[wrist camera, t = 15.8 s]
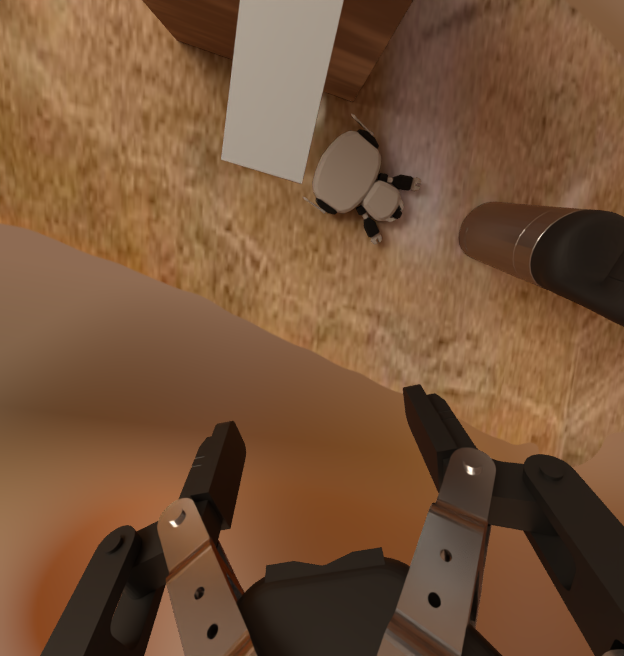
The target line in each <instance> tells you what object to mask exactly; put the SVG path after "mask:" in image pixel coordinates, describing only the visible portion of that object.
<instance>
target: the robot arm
mask: <svg viewBox="0 0 624 656" xmlns="http://www.w3.org/2000/svg"><path fill="white" fill-rule="evenodd" d="M459 243H460V246H461V249H462V250H463V252H464V253H465V254H466V255H467V256H469V257H471V258H474V259H476V260H478V261H481V262H483V263H485V264H487V265H490V266H492V267H494V268H497V269H499V270H501V271H504V272H506V273H509V274H511V275H513V276H516V277H518V278H520V279H523V280H525V281H528V282H530V283H532V284H535V285H537V286H540V287H542V288H544V289H547V290H549V291H552V292H554V293H556V294H558V295H560V296H562V297H565V298H567V299H569V300H571V301H574V302H576V303H578V304H580V305H582V306H584V307H586V308H588V309H590V310H592V311H594V312H596V313H598V314H599V315H601V316H603V317H605V318H607V319H609V320H611V321H613V322H615V323H617V324H619V325H621V326H623V327H624V217H623V216H621V215H618V214H616V213H613V212H609V211H602V210H587V209H574V208H561V207H549V206H537V205H525V204H514V203H502V202H489V203H485V204H483V205H480V206H478V207H477V208H475V209H474V210H473V211H472V212H471V213H470V214H469V215H468V216H467V217H466V219H465V220H464V222H463V224H462V226H461V229H460V232H459ZM403 395H404V403H405V413H406V418H407V421H408V424H409V427H410V429H411V432H412V434H413V436H414V438H415V440H416V443H417V445H418V447H419V450H420V452H421V454H422V456H423V459H424V461H425V463H426V466H427V468H428V470H429V472H430V475H431V477H432V479H433V481H434V484H435V486H436V488H437V491H438V493H439V495H438V498H437V501H436V503H432V505H431V506H430V509H429V512H428V514H427V518H426V521H425V524H424V527H423V529H422V533H421V536H420V538H419V541H418V545H417V547H416V550H415V553H414V557H413V559H412V563H411V565H410V566H408V565H407V564H405V563H403V562H400V561H398V560H395V559H391V558H387V557H384V556H383V551H382V548H381V547H380V548H374V549H368V550H361V551H355V552H351V553H349V554H347V555H345V556H343V557H341V558H339V559H337V560H335V561H333V562H331V563H329V564H327V565H323V566H321V565H315V564H309V563H302V562H296V561H292V562H285V563H279V564H273V565H267V566H266V575H265V577H263V578H262V579H261V580H259V581H257V582H256V583H255V584H253V585H252V586H251V587H250V588H249V589H248V590H247V591H246V592H244V590H243V589H242V587H241V585H240V583H239V581H238V579H237V577H236V575H235V573H234V571H233V569H232V567H231V565H230V563H229V561H228V558H227V556H226V554H225V552H224V550H223V548H222V546H221V544H220V542H219V540H218V538H219V534H220V530H225V529H230V528H231V523H232V518H233V514H234V509H235V505H236V500H237V495H238V491H239V486H240V481H241V477H242V472H243V467H244V462H245V457H246V447H245V443H244V441H243V439H242V437H241V435H240V433H239V430H238V428H237V426H236V424H235V422H234V421H229V422H224V423H219V424H217V425H216V426H215V429H214V431H213V434H212V436H211V437H207V438H206V439H205V441H204V442H203V443H202V444H201V446H200V447H199V449H198V452H197V454H196V457H195V458H196V459H195V460H194V462H193V464H192V468H191V470H190V472H189V475H188V477H187V479H186V482H185V485H184V487H183V489H182V492H181V495H180V497H179V499H178V500H177V501H175V502H173V503H172V504H171V505H169V506H168V507H167V508H166V509H165V510H164V512H163V513H162V515H161V516H160V518H159V521H157V522H155V523H153V524H151V525H149V526H147V527H145V528H143V529H141V530H139V531H137V532H136V531H135V529H134V528H133V527H132V526H129V525H126V526H122V527H119V528H117V529H115V530H114V531H112V532H111V533H110V534H109V535H107V536H106V537H105V538H104V540H103V541H102V542H101V543H100V544H99V546H98V547H97V549H96V551H95V553H94V555H93V556H92V558H91V560H90V562H89V564H88V566H87V568H86V570H85V572H84V574H83V575H82V578H81V579H80V581H79V583H78V585H77V587H76V589H75V591H74V593H73V595H72V596H71V599H70V600H69V602H68V604H67V606H66V608H65V610H64V612H63V613H62V616H61V618H60V619H59V621H58V623H57V625H56V627H55V629H54V631H53V632H52V634H51V636H50V638H49V640H48V642H47V644H46V646H45V648H44V650H43V651H42V654H41V655H40V656H144V654H145V651H146V648H147V644H148V641H149V638H150V635H151V631H152V628H153V624H154V621H155V618H156V615H157V611H158V608H159V604H160V602H161V598H162V595H163V592H164V588H165V585H167V588H168V593H169V596H170V600H171V604H172V608H173V612H174V616H175V620H176V624H177V627H178V631H179V635H180V639H181V643H182V647H183V651H184V655H185V656H502V655H501V654H500V653H499V652H498V651H497V650H496V649H495V648H494V647H493V646H492V645H491V644H490V643H489V642H488V641H487V640H486V639H485V638H484V637H483V636H482V635H481V634H480V633H479V632H478V631H477V630H476V629H475V628H476V622H477V616H478V610H479V604H480V597H481V590H482V582H483V574H484V568H485V562H486V556H487V549H488V543H489V537H490V532H491V525H495V526H501V527H506V528H513V529H518V530H523V531H524V533H525V535H526V536H527V538H528V540H529V542H530V543H531V545H532V547H533V549H534V550H535V552H536V554H537V556H538V557H539V559H540V561H541V563H542V564H543V566H544V568H545V570H546V571H547V573H548V575H549V577H550V578H551V580H552V582H553V584H554V585H555V587H556V589H557V591H558V592H559V594H560V596H561V598H562V599H563V601H564V603H565V604H566V606H567V608H568V610H569V611H570V613H571V615H572V616H573V618H574V620H575V622H576V624H577V625H578V627H579V629H580V631H581V632H582V634H583V636H584V637H585V639H586V641H587V643H588V644H589V646H590V648H591V650H592V652H593V653H594V655H595V656H624V526H623V525H622V524H621V523H620V522H619V520H618V519H617V518H616V517H615V516H614V515H613V514H612V512H611V511H610V510H609V509H608V508H607V507H606V506H605V504H604V503H603V502H602V501H601V500H600V499H599V498H598V496H597V495H596V494H595V493H594V492H593V491H592V490H591V488H590V487H589V486H588V485H587V484H586V483H585V481H584V480H583V479H582V478H581V477H580V476H579V475H578V473H577V472H576V471H575V470H574V469H573V468H572V467H571V466H570V465H568V464H567V463H566V462H564V461H562V460H560V459H558V458H556V457H553V456H549V455H543V454H537V455H532V456H530V457H528V458H527V459H526V461H525V462H524V464H517V463H508V462H501V461H497V460H494V459H491V458H490V457H489V456H488V455H487V454H486V453H484V452H482V451H480V450H478V449H477V448H476V446H475V445H474V443H473V442H472V441H471V439H470V437H469V436H468V434H467V433H466V431H465V430H464V428H463V427H462V425H461V424H460V422H459V421H458V419H456V416H455V415H454V413H453V412H452V411H451V409H450V407H449V406H448V404H447V403H446V401H445V400H444V399H442V398H441V397H440V396H438V395H437V394H435V393H434V394H429V395H426V393H425V392H424V390H423V388H422V386H421V385H420V384H418V385H413V386H408V387H403ZM122 592H123V593H122ZM120 597H121V598H120ZM118 602H119V603H118ZM116 607H117V608H116ZM115 609H116V610H115ZM114 612H115V613H114ZM113 614H114V615H113ZM112 617H113V618H112Z"/></svg>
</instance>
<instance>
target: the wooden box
mask: <svg viewBox="0 0 624 656" xmlns="http://www.w3.org/2000/svg"><path fill="white" fill-rule="evenodd" d="M143 2H144V3H145V4H146V5H147V6H148V7H149V9H150V10H151V11H152V12H153V13H154V14H155V15H156V17H157V18H158V19H159V20H160V21H161V22H162V24H163V25H164V26H165V27H166V28H167V29H168V31H169V32H170V33H171V34H172V35H173V36H174V38H175V39H176V40H178V41H181V42H184V43H187V44H189V45H192V46H195V47H198V48H201V49H204V50H206V51H209V52H212V53H215V54H218V55H221V56H224V57H226V58H229V59H232V60H233V55H234V47H235V38H236V30H237V21H238V13H239V4H240V0H143ZM412 2H413V0H344V2H343V6H342V11H341V15H340V19H339V24H338V28H337V33H336V37H335V41H334V46H333V50H332V54H331V59H330V63H329V68H328V72H327V76H326V81H325V85H324V89H323V92H326V93H329V94H332V95H335V96H337V97H340V98H343V99H346V100H349V101H352V102H353V101H354V99H355V97H356V96H357V94H358V92H359V91H360V89H361V87H362V86H363V84H364V82H365V81H366V79H367V77H368V76H369V74H370V72H371V71H372V69H373V67H374V66H375V64H376V62H377V61H378V59H379V57H380V55H381V54H382V52H383V50H384V49H385V47H386V45H387V44H388V42H389V40H390V39H391V37H392V35H393V34H394V32H395V30H396V29H397V27H398V25H399V24H400V22H401V20H402V18H403V17H404V15H405V13H406V12H407V10H408V8H409V7H410V5H411V3H412Z"/></svg>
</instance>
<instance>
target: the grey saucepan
mask: <svg viewBox="0 0 624 656" xmlns="http://www.w3.org/2000/svg"><path fill="white" fill-rule="evenodd" d="M343 2H344V0H240V4H239V13H238V21H237V30H236V38H235V47H234V55H233V64H232V72H231V81H230V89H229V98H228V106H227V115H226V123H225V132H224V140H223V149H222V157H221V159H222V160H225V161H228V162H231V163H234V164H237V165H240V166H243V167H247V168H250V169H253V170H257V171H260V172H263V173H267V174H270V175H273V176H277V177H280V178H283V179H287V180H290V181H293V182H297V183H300V184H302V181H303V177H304V173H305V168H306V164H307V159H308V155H309V151H310V146H311V142H312V138H313V133H314V129H315V124H316V120H317V116H318V111H319V107H320V103H321V98H322V94H323V89H324V85H325V81H326V76H327V72H328V68H329V63H330V59H331V54H332V50H333V46H334V41H335V37H336V33H337V28H338V24H339V19H340V15H341V11H342V6H343Z"/></svg>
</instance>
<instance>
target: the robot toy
mask: <svg viewBox="0 0 624 656" xmlns="http://www.w3.org/2000/svg"><path fill="white" fill-rule="evenodd" d="M351 115H352V117H353V118H354V119H355V120H356V121H357V122H358V123H359V124H360V125H361V126H362V127H363V128H364V129H365V130H366V131H365V130H358V131H357V132H356V131H348V132H346V133H343V134H342V135H340V136H339V137H337V138H336V139H335V140H334V141H333V142H332V143H331V144H330V146H329V147H328V148H327V150H326V151H325V152H324V153H323V155H322V156H321V158H320V161H319V163H318V166H317V168H316V171H315V174H314V178H313V192H314V194H315V196H316V202H317V204H318V205H319V207H320V208H319V207H318V206H316V205H315V204H313V203H312V202H310V201H309V200H308V199H307V198H305V197H303V198H304V199H305V200H306V201H308V202H309V203H311V204H312V205H314V206H315V207H317V208H318V209H320V211H321V212H323V213H324V214H325V212H327V213H330V214H336V213H337V212H339V213H346V212H349V211H351V210H352V209H354V208H355V207H356V206H357V205H358V204H359V203H360V206H359V207H357V208H356V210H357V212H358V214H359V215H362V216H363V218H364V229H365V231H366V233H367V235H368V237H371V242H372V243H373V244H378V243H377V242H376V239H378V241H379V242H381V240H382V237H381V234H379V229H378V227H377V225H376V223H375V221H374V220H372V219H371V218H369V217H368V215H367V214H369V215H370V216H371V217H372V218H373V219H375V220H378V221H389V222H392V221H394V220H396V219H398V218H400V217H401V215H402V212H401V211H400V210H402V211H403V206H404V204H403V202H402V200H401V198H400V193H399V191H398V189H402V190H410V189H411V190H412V191H417V190H418V189H419V188H420V186H416V183H418V184H421V180H420V179H419V178H417V177H416V178H414V179H413V177H411V176H406V175H398V176H395V177H393V178H391V177H388V175H387V174H383V173H380V174H379V175H378V172H379V169H380V165H381V155H380V153H379V151H378V146H379V145H378V143H377V141H376V139H375V138H374V137H373V135H374V133H373V132H372V131H369V130H368V129H367V128H366V127H365V126H364V125H363V124H362V123H361V122H360V121H359V120H358V119H357V117H356V116H355V115H354V114H351ZM377 175H378V179H377V180H376V178H377ZM388 183H391V184H392V185H393V186H395V187H396V188H397V189H396V188H395V187H393V186H391V185H390V184H388ZM391 216H392V217H394V218H392V217H391Z"/></svg>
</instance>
